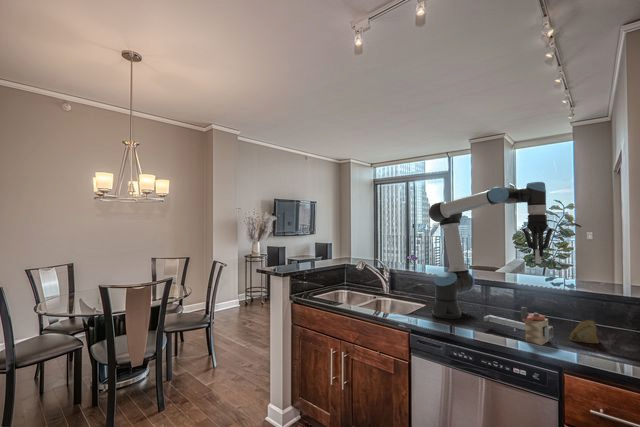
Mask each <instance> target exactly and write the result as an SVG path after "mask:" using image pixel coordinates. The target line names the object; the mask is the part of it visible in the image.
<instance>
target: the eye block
mask: <svg viewBox="0 0 640 427" xmlns="http://www.w3.org/2000/svg"><path fill="white" fill-rule="evenodd" d="M524 323H525V330H524V331H525V332H524V333H525V342H529V343H532V344H536V345H540V346H542V345H544V344H546V343H548V342H550V339H547V338H545V335H543V327H544V328H545V327H547V326H549V318H545V320H542V321H540V320H530V321H524Z"/></svg>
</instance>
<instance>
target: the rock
mask: <svg viewBox="0 0 640 427" xmlns="http://www.w3.org/2000/svg"><path fill="white" fill-rule="evenodd" d="M598 332H599V331H598V330H597V326H596V322H595V320H591V319H586V320H582V321H579V322H578V324H577V325H576V327H575V328H574V329H572V331H571V333H570V334H569V337H568V340H569V341H573V342H579V343H587V344H588V343H589V344H599V343H600V337H599V333H598Z"/></svg>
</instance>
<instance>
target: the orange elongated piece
mask: <svg viewBox="0 0 640 427" xmlns="http://www.w3.org/2000/svg"><path fill="white" fill-rule="evenodd" d="M520 318H521V321H522V322H525V321H530V320H540V321H542V320H545V319H546V316H545V315H543V314H540V313H538V312H533V313H528V307H526V306H521V307H520Z"/></svg>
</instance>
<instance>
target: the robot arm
mask: <svg viewBox="0 0 640 427" xmlns="http://www.w3.org/2000/svg"><path fill="white" fill-rule="evenodd" d="M521 203H525V204H526V206H527V214H528V215H527V224H526V226H525V227H523V228H522V229H521V231H522V232H523V234H524V236H525V239H526V244H527V247H528V249H532V254H533V257H535V258H534V259H535V264H539V265H540V264H542V257H544V250H546V249H549V246H550V240H551V237H552V234H553V232H554V231H555V228H551V227H550V226H549V225H548V221H547V220H548V219H547V190H546V183H545V182H543V181H532V182H531V181H530V182H527V183H526V186H524V187H516V188H515V187H504V186H493V187H492V188H490V189H489V190H485V191H482V192H479V193H475V194H471V195H468V196H466V197H461V198H457V199H454V200H450V201H446V200H443V201H440V202H437V203H436V202H435V203H433V204H432V205H431V206H430V207H429V208H428V209H429V210H428V216H429V218H430V219H431V221H433V222H436V223H438V224H439V226H440V228H442V229H443V230H442V231H443V236H444V241H445V249H446V254H447V259H448V266H449V269H448V270H447V271H445V272H438V273H436V274H435V276H434V281H433V282H434V303H433V307H432V310H431V311H432V312H431V313H432V315H433V317H437V318H441V319H446V320H447V319H448V320H455V319H460V318H462V311H461V308H460V306H459V303H458V295H460V294H466V293H469V292H471V291H472V290H473V288H475V283H476V282H475V281H476V280H475V278H474V276H473V275H472V274H471V273H470V270H469V268H468V267H466V263H465V258H464V253H463V246H462V241H461V240H462V239H461V235H460V230H459V226H460V225H461V219H462V218H463V213H464V212H469V211H473V210H477V209H480V208H481V209H482V208H486V207H489V206H492V205H494V206H495V205H498V204H504V205H505V204H508V205H509V204H510V205H511V204H521ZM545 231H546V234H545ZM530 232H531V234H530ZM544 234H545V238H544ZM531 237H532V238H531Z"/></svg>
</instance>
